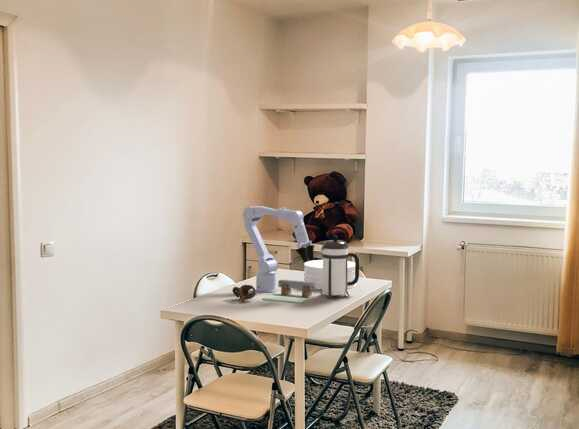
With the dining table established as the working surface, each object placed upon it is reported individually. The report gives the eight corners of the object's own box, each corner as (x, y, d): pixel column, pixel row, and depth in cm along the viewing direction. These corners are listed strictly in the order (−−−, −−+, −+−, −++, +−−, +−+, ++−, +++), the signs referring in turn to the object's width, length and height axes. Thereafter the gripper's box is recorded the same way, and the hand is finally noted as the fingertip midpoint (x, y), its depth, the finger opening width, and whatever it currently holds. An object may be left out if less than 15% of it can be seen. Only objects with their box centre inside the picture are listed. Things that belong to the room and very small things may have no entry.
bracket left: (281, 294, 310) (281, 284, 309) (285, 292, 315) (285, 282, 315) (286, 295, 309) (286, 285, 308) (291, 293, 314) (291, 283, 313)
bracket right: (301, 296, 306) (301, 286, 305) (306, 294, 311) (306, 284, 310) (307, 297, 304) (307, 287, 304) (311, 294, 310) (311, 284, 309)
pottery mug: (257, 298, 303) (259, 286, 299) (251, 311, 296) (252, 298, 291) (234, 291, 305) (235, 278, 301) (227, 303, 298) (228, 290, 293)
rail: (278, 287, 311) (278, 280, 311) (281, 285, 314) (281, 279, 314) (312, 290, 304) (312, 283, 304) (314, 288, 307) (314, 282, 307)
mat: (262, 299, 299) (262, 298, 299) (269, 296, 307) (269, 295, 306) (301, 303, 292) (301, 302, 291) (307, 299, 299) (307, 298, 299)
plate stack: (358, 290, 321) (359, 268, 320) (304, 290, 322) (304, 268, 321) (354, 280, 349) (354, 259, 348) (304, 279, 350) (304, 259, 349)
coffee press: (343, 301, 296) (344, 238, 294) (314, 297, 305) (314, 235, 302) (359, 294, 311) (360, 234, 308) (330, 290, 320) (331, 232, 317)
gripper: (302, 233, 299) (311, 260, 298) (313, 231, 313) (321, 257, 312) (289, 237, 302) (297, 264, 301) (301, 235, 316) (308, 261, 314)
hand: (309, 261), depth 307 cm, fingers open, 7 cm apart
